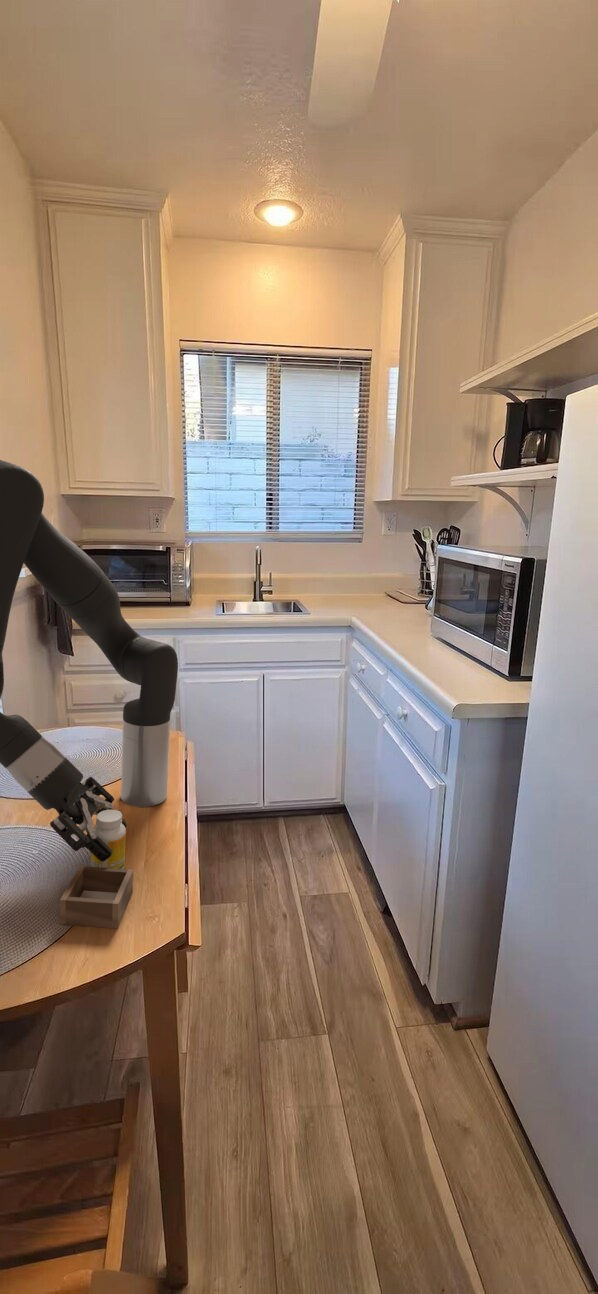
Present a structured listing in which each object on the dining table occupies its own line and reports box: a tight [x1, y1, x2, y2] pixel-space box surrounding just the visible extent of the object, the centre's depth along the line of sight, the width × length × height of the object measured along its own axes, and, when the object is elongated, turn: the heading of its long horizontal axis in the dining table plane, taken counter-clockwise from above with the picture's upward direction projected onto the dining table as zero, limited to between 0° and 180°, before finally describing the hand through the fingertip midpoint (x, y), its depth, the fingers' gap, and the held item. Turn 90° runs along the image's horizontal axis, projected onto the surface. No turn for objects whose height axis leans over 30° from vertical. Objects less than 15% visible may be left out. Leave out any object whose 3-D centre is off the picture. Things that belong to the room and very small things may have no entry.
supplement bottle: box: [90, 809, 127, 869], centre depth 97 cm, size 5×5×10 cm
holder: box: [59, 865, 134, 929], centre depth 88 cm, size 8×8×4 cm
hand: (116, 842), depth 97 cm, fingers open, 8 cm apart
